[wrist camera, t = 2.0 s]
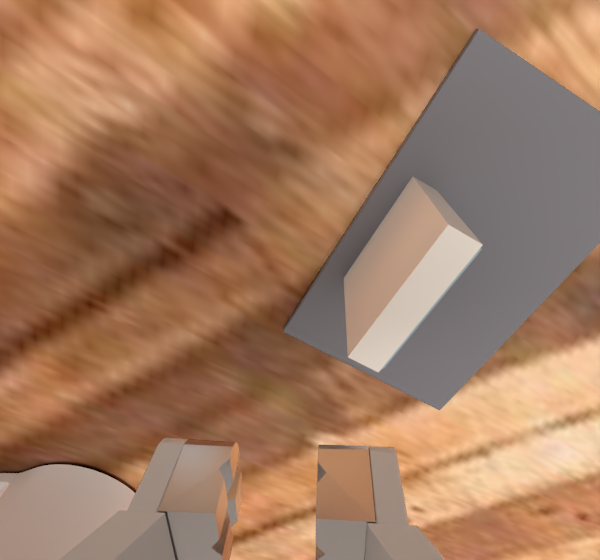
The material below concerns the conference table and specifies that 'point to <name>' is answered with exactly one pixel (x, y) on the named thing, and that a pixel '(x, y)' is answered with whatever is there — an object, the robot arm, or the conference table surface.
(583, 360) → the conference table surface
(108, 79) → the conference table surface
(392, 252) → the tile
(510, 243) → the mat
